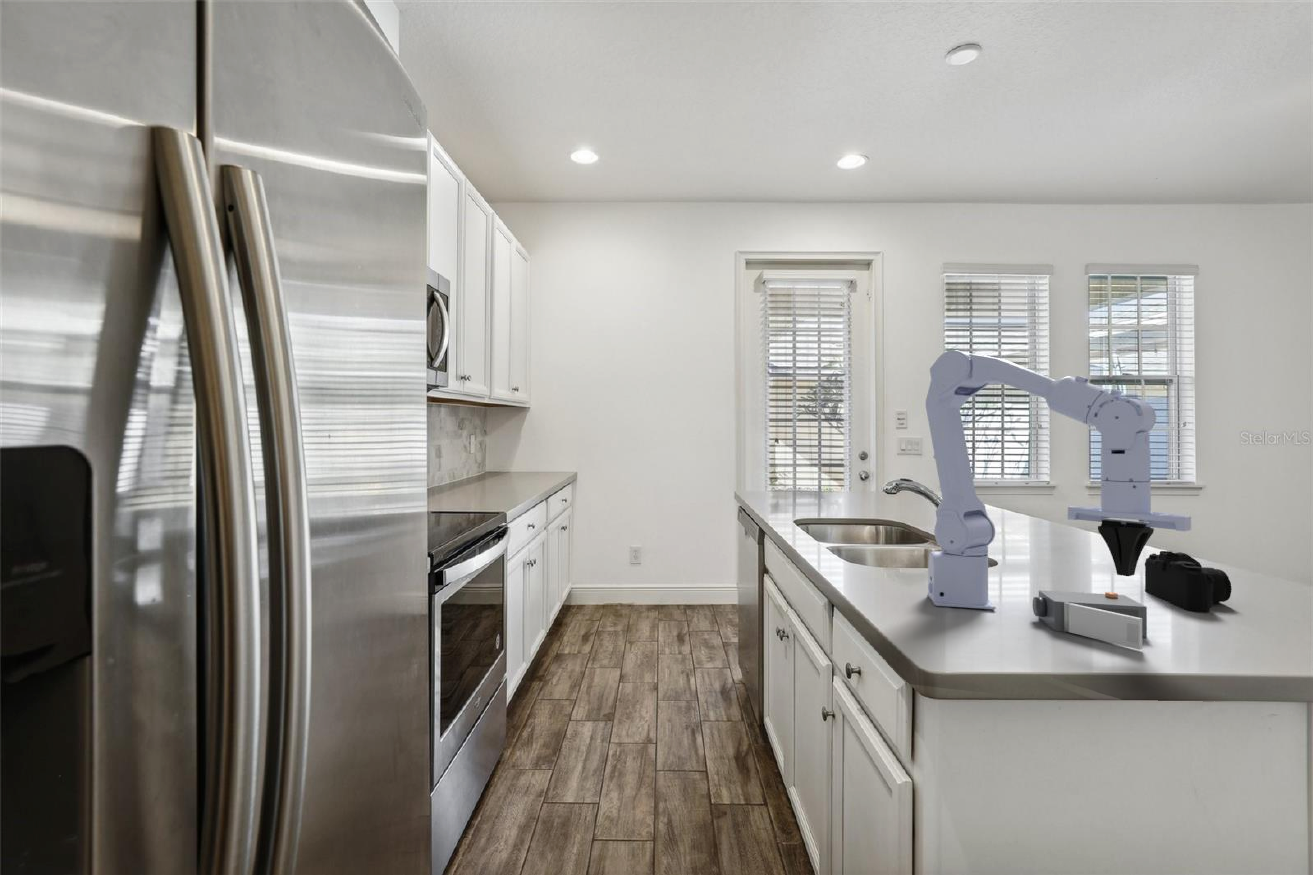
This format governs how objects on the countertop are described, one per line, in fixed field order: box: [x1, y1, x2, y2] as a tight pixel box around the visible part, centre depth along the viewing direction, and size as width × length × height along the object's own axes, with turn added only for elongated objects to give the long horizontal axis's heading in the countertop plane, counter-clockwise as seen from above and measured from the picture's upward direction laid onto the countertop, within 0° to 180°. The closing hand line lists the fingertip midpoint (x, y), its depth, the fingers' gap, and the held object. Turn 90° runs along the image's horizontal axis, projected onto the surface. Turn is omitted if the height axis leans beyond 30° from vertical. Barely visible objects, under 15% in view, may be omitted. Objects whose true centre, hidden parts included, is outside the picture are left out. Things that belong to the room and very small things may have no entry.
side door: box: [1063, 602, 1143, 651], centre depth 89 cm, size 10×1×4 cm, turn 30°
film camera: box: [1144, 550, 1232, 614], centre depth 110 cm, size 15×10×9 cm, turn 168°
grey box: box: [1032, 590, 1148, 638], centre depth 95 cm, size 13×7×5 cm, turn 75°
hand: (1125, 574), depth 88 cm, fingers closed
